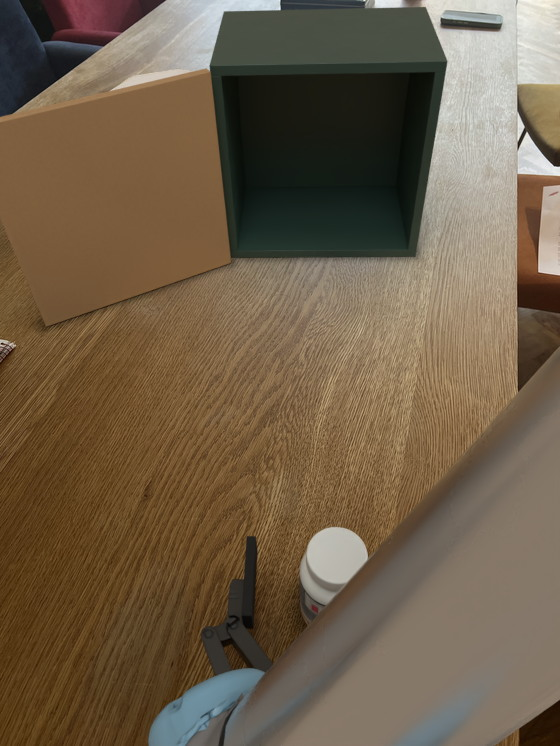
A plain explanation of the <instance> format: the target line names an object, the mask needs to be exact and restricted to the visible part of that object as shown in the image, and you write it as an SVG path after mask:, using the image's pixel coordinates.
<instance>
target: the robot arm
mask: <svg viewBox="0 0 560 746" xmlns="http://www.w3.org/2000/svg"><path fill="white" fill-rule="evenodd" d="M258 553H259V552H258V543H257V536H256V535H247V536H246V540H245V555H244V569H243V570H244V571H243V578H232V579H231V581H230V584H229V589H228V599H227V600H228V601H227V614H226V617H225V619H224V621H223V622H222V623H220V624H217V625H214V626H213V625H207V626H205V627H203V628H202V630H201V631H200V637H201V638H200V639H201V641H202V644H203V648H204V650H205V653H206V655H207V658H208V661H209V663H210V666H211V669H212V671H213V674H214V676H211V677H210V678H207V679H205V680H203V681H201V682H199V683H197V684H195V685H193V686H191V687H190V688H189V689H187V690H185V692H184V693H183V695H182V696H180V697H179V698H177V699H175V700H172V701H170V702H169V703H167V704H166V705H165V706H164V707H163V708H162V709H161V711H160V712H159V713H158V714H157V716H156V717H155V719H154V720H153V722H152V724H151V726H150V729H149V733H148V739H147V740H148V741H147V743H148V746H497V745H498V744H499V743H501V742H502V741H504V740H506V739H507V738H508V737H509V736H511V735H512V734H513V733H515V732H517V731H518V730H519V729H520V728H522V727H524V726H525V725H526V724H527V723H530V721H532V720H534V719H535V718H536V717H538V716H539V715H540V714H542V713H544V711H546V710H547V709H549V708H550V707H552V706H553V705H555V704H556V703H557V702H558V701H560V345H559V346H558V347H557V349H555V350H554V351H553V353H552V354H551V355H550V356H549V357H548V359H546V361H545V362H544V363H543V364H542V365H541V366H540V367H539V368H538V369H537V371H536V372H535V373H534V374H533V375H532V376H531V377H530V378H529V380H528V381H527V382H526V383H524V385H523V386H522V387H521V389H520V390H519V391H518V392H517V393H515V394H514V396H513V397H512V398H511V400H509V402H508V403H507V404H506V405H505V406H504V407H503V408H502V410H500V412H499V413H498V414H497V415H496V416H495V417H494V418H493V420H491V422H490V423H489V424H488V425H487V426H486V427H485V428H484V429H483V431H482V432H481V433H479V434H478V436H477V437H476V438H475V439H474V441H472V443H471V444H470V445H469V446H468V447H467V448H466V450H465V451H463V453H461V455H460V456H459V457H458V458H457V459H456V460H455V462H454V463H452V465H451V466H450V467H449V468H448V469H447V470H446V472H444V474H443V475H442V476H441V477H440V478H439V479H438V481H437V482H436V483H435V484H434V485H433V486H432V487H431V488H430V489H429V490H428V491H427V493H426V494H425V495H423V497H422V498H421V499H420V500H419V501H418V503H417V504H416V505H415V506H414V507H413V508H412V510H411V511H409V512H408V514H407V515H406V516H405V517H404V518H403V519H402V521H400V523H399V524H397V526H396V527H395V528H394V529H393V530H392V531H391V533H390V534H389V535H388V536H387V537H386V538H385V539H384V540H383V541H382V543H380V545H379V546H378V547H377V548H376V549H375V550H374V551H373V552H372V553H371V554H370V556H368V559H367V561H366V562H365V563H364V564H363V565H362V566H361V567H360V568H359V569H358V570H357V572H356V573H355V574H354V575H353V576H352V577H351V578H350V579H349V580H348V582H347V583H346V584H345V585H344V586H343V587H342V588H341V589H340V590H339V592H338V593H337V594H336V595H335V596H334V597H333V598H332V599H331V600H330V602H329V603H328V604H327V605H326V606H325V607H324V608H323V609H322V610H321V612H320V613H319V614H318V615H317V616H316V617H315V618H314V619H313V620H312V622H311V623H310V624H309V625H307V626H306V627H305V628H304V629H303V630H302V632H301V633H299V635H298V636H297V637H296V638H295V639H294V640H293V641H292V643H291V644H290V645H288V647H287V648H286V649H285V651H283V652H282V653H281V655H280V656H279V657H278V658H277V659H276V660H275V661H274V662H273V661H272V660H271V659H270V658H269V655H267V653H265V651H264V650H263V649H262V647H261V645H259V643H258V642H257V640H256V639H255V638H254V636H253V635H252V634H251V633H250V631H249V630H254V628H255V611H256V610H255V609H256V592H257V571H258ZM229 646H232V647H233V649H234V650H235V651H236V652H237V654H238V655H239V657H240V658H241V659H242V661H243V662H244V663H245V665H246V666H247V667H244V668H237V669H232V667H231V664H230V661H229V659H228V657H227V654H226V651H225V648H227V647H229Z"/></svg>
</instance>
